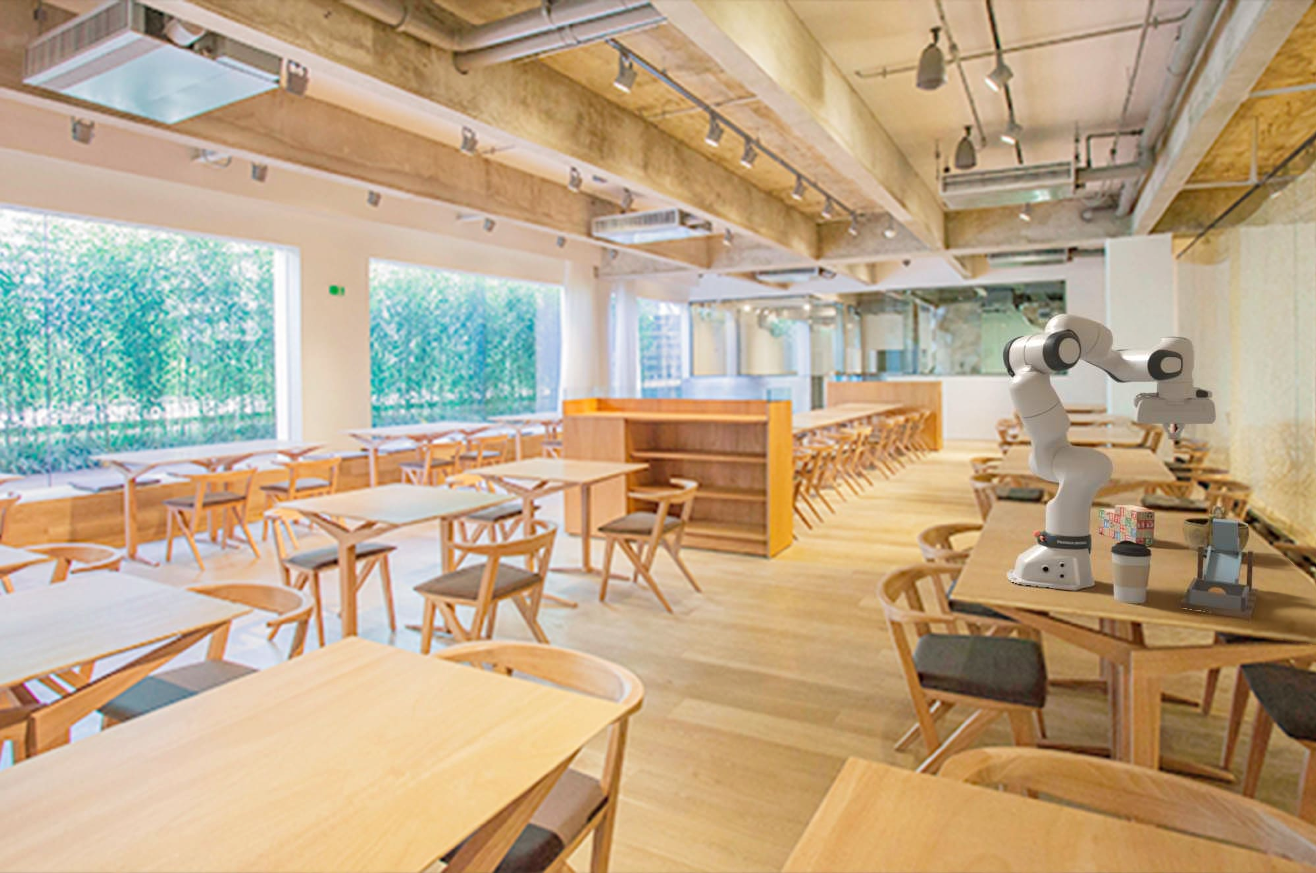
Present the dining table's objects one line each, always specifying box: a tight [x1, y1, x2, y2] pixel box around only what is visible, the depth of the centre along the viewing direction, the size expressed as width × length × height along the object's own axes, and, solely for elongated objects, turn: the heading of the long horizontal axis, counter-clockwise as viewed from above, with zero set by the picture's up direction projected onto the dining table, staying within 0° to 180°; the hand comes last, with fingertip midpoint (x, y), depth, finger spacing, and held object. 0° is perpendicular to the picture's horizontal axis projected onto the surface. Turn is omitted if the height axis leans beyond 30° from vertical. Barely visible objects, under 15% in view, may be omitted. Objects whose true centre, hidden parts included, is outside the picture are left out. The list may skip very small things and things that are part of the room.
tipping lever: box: [1203, 518, 1247, 585], centre depth 201 cm, size 18×9×16 cm, turn 138°
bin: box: [1186, 577, 1249, 612], centre depth 192 cm, size 14×12×4 cm
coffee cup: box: [1110, 541, 1152, 605], centre depth 199 cm, size 9×9×15 cm
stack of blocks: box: [1098, 504, 1156, 546], centre depth 269 cm, size 21×6×12 cm, turn 1°
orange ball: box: [1208, 587, 1226, 594], centre depth 189 cm, size 4×4×4 cm
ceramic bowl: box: [1182, 505, 1250, 557], centre depth 243 cm, size 22×17×15 cm
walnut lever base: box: [1179, 545, 1259, 620], centre depth 196 cm, size 26×14×12 cm, turn 139°
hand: (1172, 439), depth 226 cm, fingers closed
